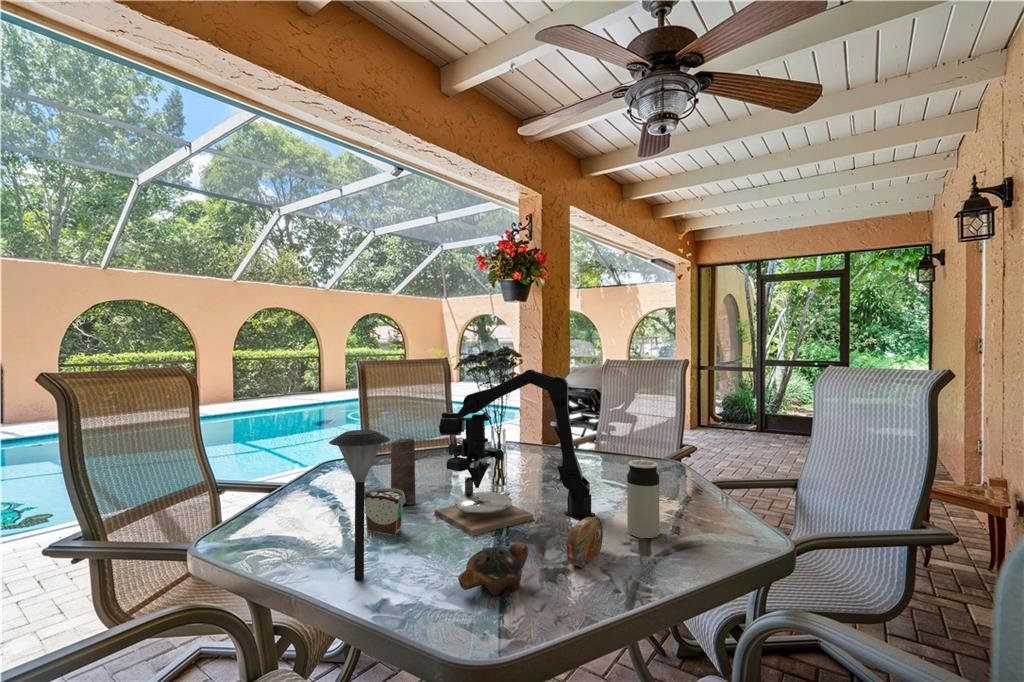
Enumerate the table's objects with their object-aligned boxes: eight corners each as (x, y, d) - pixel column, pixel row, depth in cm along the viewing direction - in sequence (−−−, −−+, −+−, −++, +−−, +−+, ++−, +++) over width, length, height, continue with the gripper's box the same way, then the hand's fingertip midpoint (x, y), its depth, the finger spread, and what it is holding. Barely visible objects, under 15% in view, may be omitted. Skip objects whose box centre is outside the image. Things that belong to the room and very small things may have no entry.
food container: (415, 529, 128) (415, 491, 128) (400, 537, 123) (400, 497, 123) (378, 522, 133) (378, 485, 134) (362, 529, 128) (362, 491, 128)
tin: (577, 574, 102) (577, 533, 103) (564, 570, 104) (563, 530, 104) (604, 549, 115) (603, 513, 115) (591, 546, 117) (591, 511, 117)
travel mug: (664, 539, 121) (663, 466, 122) (633, 540, 121) (632, 466, 121) (653, 527, 129) (652, 459, 130) (623, 528, 129) (623, 459, 129)
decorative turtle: (541, 586, 97) (540, 547, 96) (475, 615, 88) (474, 572, 88) (512, 566, 105) (511, 530, 104) (450, 591, 96) (448, 551, 95)
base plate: (533, 519, 135) (533, 513, 135) (472, 536, 123) (472, 529, 123) (492, 502, 151) (492, 496, 151) (434, 515, 139) (434, 509, 139)
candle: (401, 509, 144) (401, 441, 145) (385, 504, 149) (385, 439, 149) (420, 503, 150) (420, 438, 151) (404, 498, 155) (405, 435, 155)
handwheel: (523, 511, 137) (523, 482, 137) (479, 525, 126) (479, 493, 126) (486, 498, 149) (486, 472, 149) (443, 510, 138) (443, 482, 138)
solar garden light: (355, 562, 108) (356, 426, 109) (401, 571, 103) (402, 429, 104) (313, 586, 97) (315, 434, 97) (363, 598, 92) (364, 439, 93)
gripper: (478, 427, 157) (479, 476, 157) (433, 437, 143) (434, 491, 143) (504, 431, 150) (505, 482, 150) (459, 442, 135) (460, 498, 136)
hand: (476, 488), depth 145 cm, fingers closed
